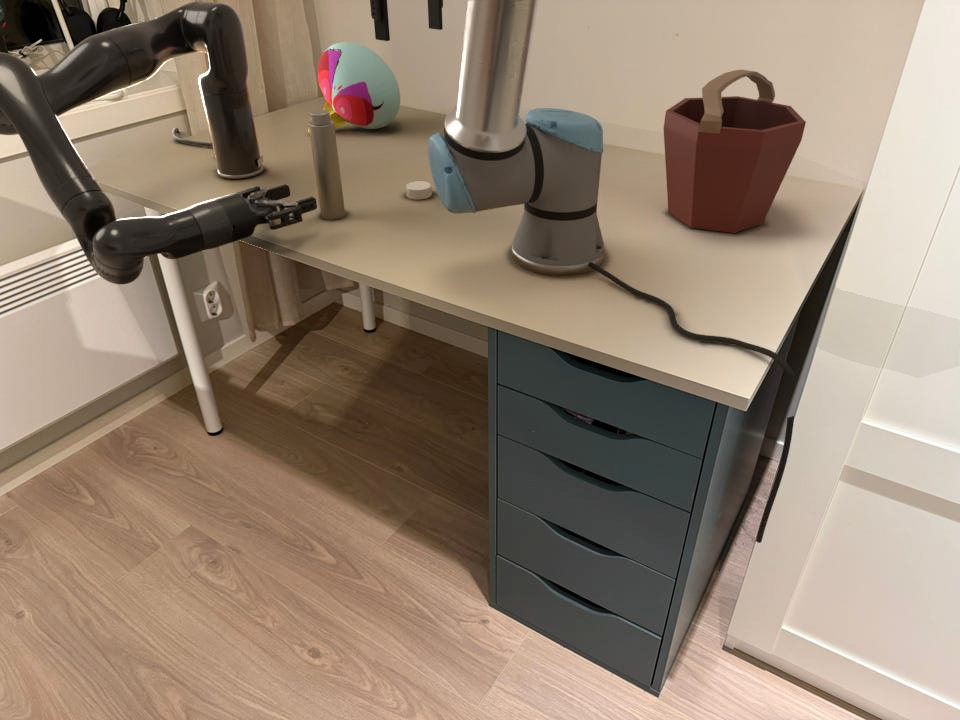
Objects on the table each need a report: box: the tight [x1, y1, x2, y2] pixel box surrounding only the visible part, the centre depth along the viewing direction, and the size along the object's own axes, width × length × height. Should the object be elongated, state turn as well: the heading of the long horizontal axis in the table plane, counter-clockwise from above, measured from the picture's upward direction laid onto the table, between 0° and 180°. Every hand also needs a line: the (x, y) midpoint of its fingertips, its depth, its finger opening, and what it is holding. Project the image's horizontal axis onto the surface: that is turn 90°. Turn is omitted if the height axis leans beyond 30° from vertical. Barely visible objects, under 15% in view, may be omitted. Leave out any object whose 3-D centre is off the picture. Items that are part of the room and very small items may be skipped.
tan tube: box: [307, 109, 346, 221], centre depth 128 cm, size 4×4×19 cm
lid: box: [405, 180, 433, 201], centre depth 141 cm, size 5×5×2 cm
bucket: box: [663, 69, 807, 234], centre depth 125 cm, size 24×22×25 cm
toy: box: [307, 41, 401, 133], centre depth 176 cm, size 24×24×20 cm
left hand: (301, 196), depth 126 cm, fingers open, 8 cm apart
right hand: (410, 34), depth 124 cm, fingers open, 13 cm apart
